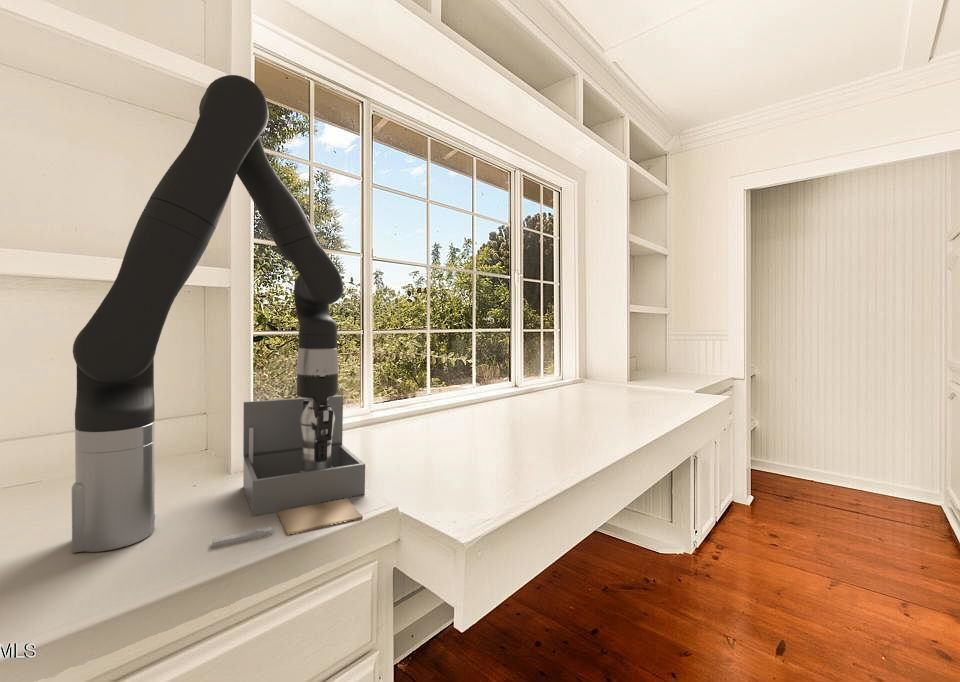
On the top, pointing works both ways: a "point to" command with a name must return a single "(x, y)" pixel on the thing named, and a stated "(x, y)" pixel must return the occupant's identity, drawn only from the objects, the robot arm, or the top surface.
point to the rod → (241, 537)
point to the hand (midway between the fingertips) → (316, 456)
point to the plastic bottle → (312, 441)
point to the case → (292, 459)
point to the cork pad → (318, 516)
